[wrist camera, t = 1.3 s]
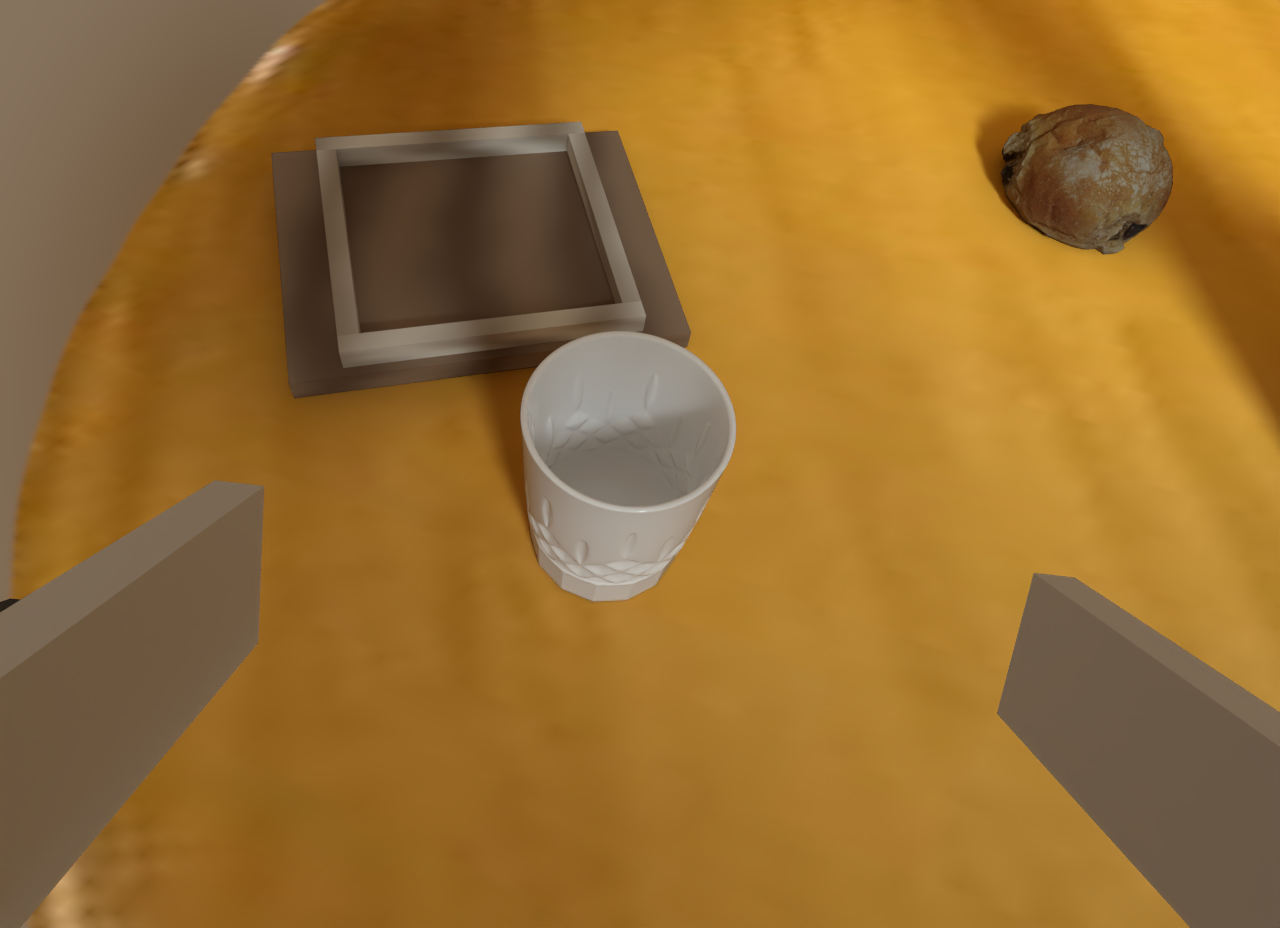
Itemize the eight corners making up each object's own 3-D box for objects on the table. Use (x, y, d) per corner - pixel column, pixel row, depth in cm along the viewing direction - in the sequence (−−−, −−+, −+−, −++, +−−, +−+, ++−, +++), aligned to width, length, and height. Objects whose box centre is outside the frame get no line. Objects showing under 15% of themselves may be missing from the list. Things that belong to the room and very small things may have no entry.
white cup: (482, 526, 39) (474, 401, 30) (608, 434, 42) (633, 298, 34) (599, 652, 36) (626, 555, 28) (722, 543, 40) (779, 428, 31)
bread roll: (1027, 297, 56) (1136, 252, 49) (956, 158, 56) (1056, 92, 48) (1113, 243, 60) (1226, 194, 53) (1048, 114, 60) (1153, 46, 52)
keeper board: (615, 146, 53) (619, 113, 51) (687, 346, 46) (695, 317, 44) (276, 170, 48) (266, 134, 46) (294, 398, 41) (282, 368, 39)
